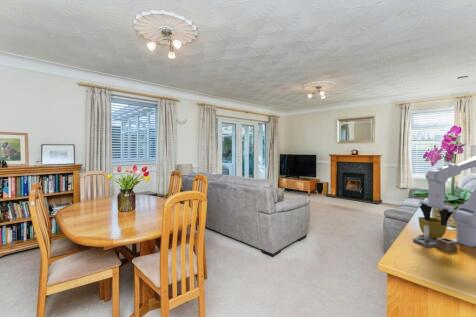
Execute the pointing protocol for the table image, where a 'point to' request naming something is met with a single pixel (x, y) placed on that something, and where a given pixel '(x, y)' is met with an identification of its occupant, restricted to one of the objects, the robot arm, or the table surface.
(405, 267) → the table surface
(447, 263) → the table surface
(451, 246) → the walnut block
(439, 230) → the flower pot
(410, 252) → the table surface
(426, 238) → the cylinder
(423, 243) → the tray
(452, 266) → the table surface
